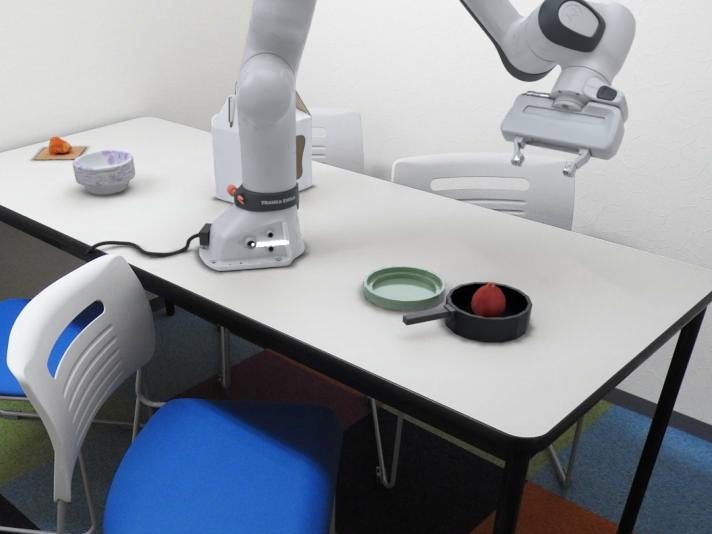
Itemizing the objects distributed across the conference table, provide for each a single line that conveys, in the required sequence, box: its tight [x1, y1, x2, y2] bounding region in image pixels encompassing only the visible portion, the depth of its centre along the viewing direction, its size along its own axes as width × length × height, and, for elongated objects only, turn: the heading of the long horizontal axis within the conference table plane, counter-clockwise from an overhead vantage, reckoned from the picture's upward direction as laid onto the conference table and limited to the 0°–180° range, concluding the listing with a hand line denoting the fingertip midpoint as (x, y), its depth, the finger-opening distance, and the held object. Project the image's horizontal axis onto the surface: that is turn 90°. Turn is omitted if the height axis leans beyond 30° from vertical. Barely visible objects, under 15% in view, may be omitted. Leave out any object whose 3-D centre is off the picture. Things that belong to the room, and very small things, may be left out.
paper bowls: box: [72, 149, 136, 196], centre depth 198 cm, size 15×15×8 cm
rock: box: [34, 136, 86, 161], centre depth 226 cm, size 12×12×4 cm
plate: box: [362, 265, 447, 311], centre depth 147 cm, size 15×15×2 cm
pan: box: [402, 281, 533, 344], centre depth 135 cm, size 23×14×4 cm, turn 109°
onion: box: [471, 280, 506, 318], centre depth 135 cm, size 6×6×8 cm
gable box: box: [210, 81, 313, 204], centre depth 188 cm, size 22×13×28 cm, turn 139°
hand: (540, 169), depth 131 cm, fingers open, 8 cm apart
